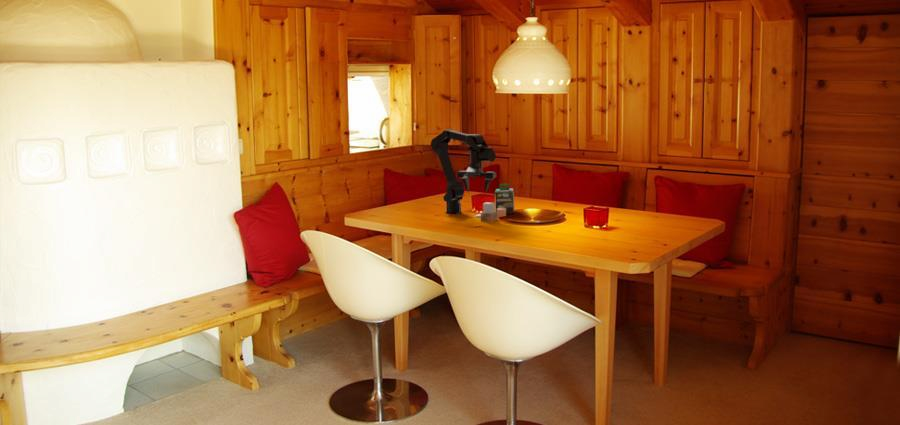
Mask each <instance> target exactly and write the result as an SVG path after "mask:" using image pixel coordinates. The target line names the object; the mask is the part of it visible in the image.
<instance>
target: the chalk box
mask: <svg viewBox="0 0 900 425" xmlns="http://www.w3.org/2000/svg"><path fill="white" fill-rule="evenodd" d="M504 186H505V187H504ZM514 191H515V190H514V188H513V187H511V188H510V183H500V184H499V188H496V189H495V191H494V196H495V197H494V198H495V202H494V203H495V212H497V209H498V208H506V213H513V212H514V213H515V192H514Z"/></svg>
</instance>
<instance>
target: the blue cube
mask: <svg viewBox="0 0 900 425" xmlns="http://www.w3.org/2000/svg"><path fill="white" fill-rule="evenodd" d="M482 210H483V211H482V212H483V213H491V214H492V213H494V212H496V204H495V202H493V201H492V202H488V201H486V202H484V203H482Z"/></svg>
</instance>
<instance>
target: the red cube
mask: <svg viewBox="0 0 900 425" xmlns="http://www.w3.org/2000/svg"><path fill="white" fill-rule="evenodd" d="M501 216H506V217H507V214H506V208H498V209H497V218H500V217H501Z"/></svg>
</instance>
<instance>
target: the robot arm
mask: <svg viewBox="0 0 900 425" xmlns="http://www.w3.org/2000/svg"><path fill="white" fill-rule="evenodd" d="M452 140H454V141H458V142H463V143H465V145H467V146H468V148H466V151H468V152H470V153H469V157H470V159H469V160H470V162H469V163H468V164H469V166H468V167H467V169H466V170H459V171H457V173H456V172H455V171H454V167H453V164H452V161H451V158H450V156H449V144H450V142H451V141H452ZM430 146H431V149H432V151H433V152H434V154H436V155H437V156H438V159H439V161H440V164H441V167H442V170H443V173H444V177H445V180H446V183H447V184H446V193H445V194H444V195H443V196H442V197H443V201H444V202H446V211H445V214H459V213H462V203H461V200H463V198H464V194H465V190H466V192H467V193H469V191H470V178H473V179H475V178H477V177H482V178H485V179H484V193H487V192H488V189H489V186H490V184H491V182H492V180H494V179H495V178H497V172H495V171H490V170H489V171H486V172H484V170H483V164H484V162H488V163H493V162H494V161H495V160H496V157H497V156H496V155H497V154H496V152H495V150H493V147H489V146H488V144H487V142H486V141H485V139H484V137H483V135H482V134H480V133H477V134H475V133H472V134H471V133H470V134H469V133H465V132H461V131H457V130H453V129H452V128H451V129H444V130H443V131H442V132H441V133H439V134H438V135H437V136H435V137H433V138H432V139H431V141H430ZM455 173H456V174H455ZM457 178H458V179H459V180H461V181H459V180H458V179H457ZM464 186H465V187H464Z"/></svg>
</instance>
